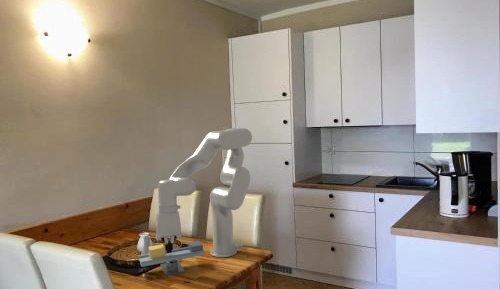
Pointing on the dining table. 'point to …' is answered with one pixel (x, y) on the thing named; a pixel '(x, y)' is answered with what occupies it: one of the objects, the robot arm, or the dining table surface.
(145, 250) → the flask
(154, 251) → the block
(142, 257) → the beam
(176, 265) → the fulcrum
